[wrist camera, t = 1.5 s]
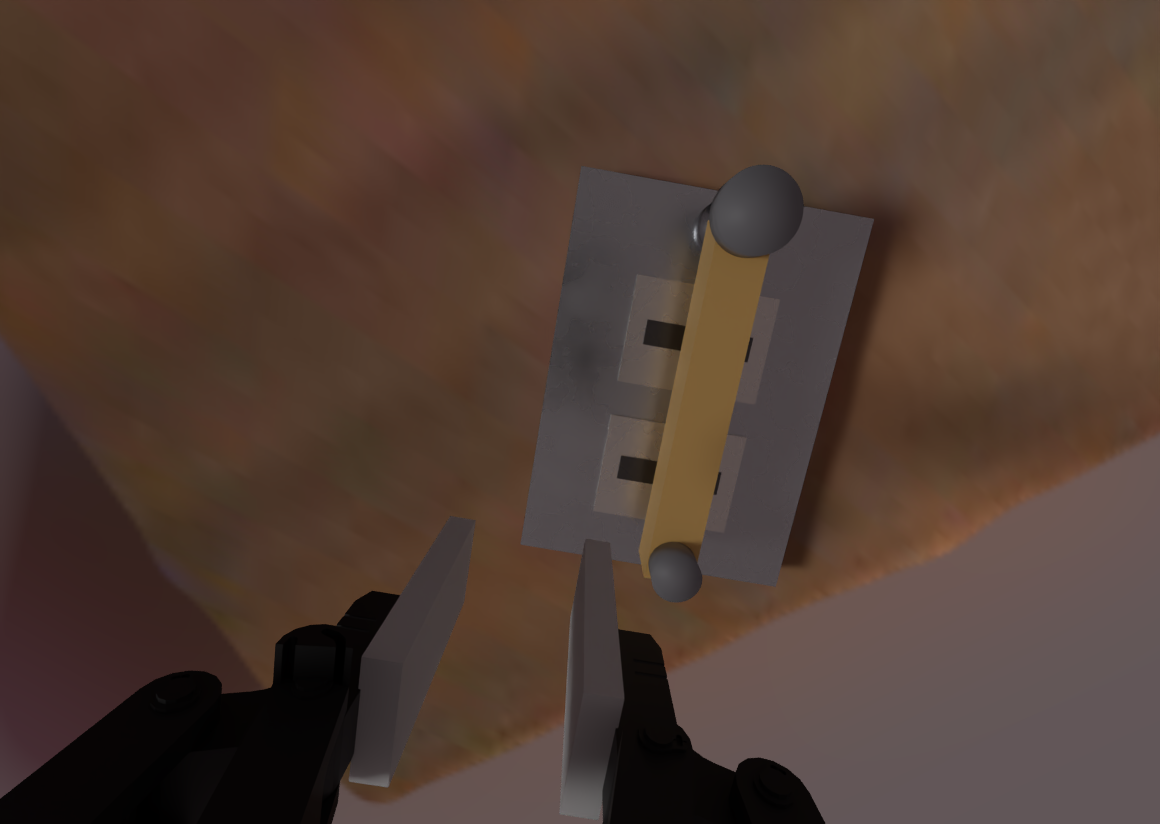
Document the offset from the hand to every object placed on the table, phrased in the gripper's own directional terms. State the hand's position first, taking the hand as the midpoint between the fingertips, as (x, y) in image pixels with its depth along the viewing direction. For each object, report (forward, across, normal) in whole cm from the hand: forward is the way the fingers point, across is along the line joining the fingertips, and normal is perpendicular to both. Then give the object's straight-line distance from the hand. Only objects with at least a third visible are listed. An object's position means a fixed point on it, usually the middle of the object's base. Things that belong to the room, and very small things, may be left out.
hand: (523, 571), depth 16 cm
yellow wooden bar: (+14, +7, +5) cm, 16 cm away
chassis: (+19, +7, +4) cm, 20 cm away
